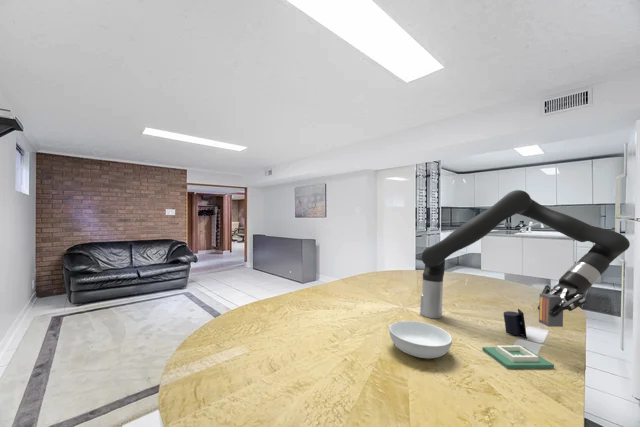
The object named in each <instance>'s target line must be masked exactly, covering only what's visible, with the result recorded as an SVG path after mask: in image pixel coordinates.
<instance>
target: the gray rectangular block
mask: <svg viewBox="0 0 640 427" xmlns="http://www.w3.org/2000/svg"><path fill="white" fill-rule="evenodd" d="M560 298H561V297H560V296H558V295H555V294H542V293H539V303H538V306H539V309H538V323H540V324H542V325H545V326H547V327H551V328H554V327H556V328H558V327H559V328H561V327H562V328H563V326H564V310H563V311H562V312H561V313H560V314H559V315H558V316H556V317H553V316H551V315H550V313H549V312H550V311H551V310H552V309H553V307H554V306H555V305H558V302H559V301H560ZM563 304H564V303H563Z"/></svg>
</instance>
